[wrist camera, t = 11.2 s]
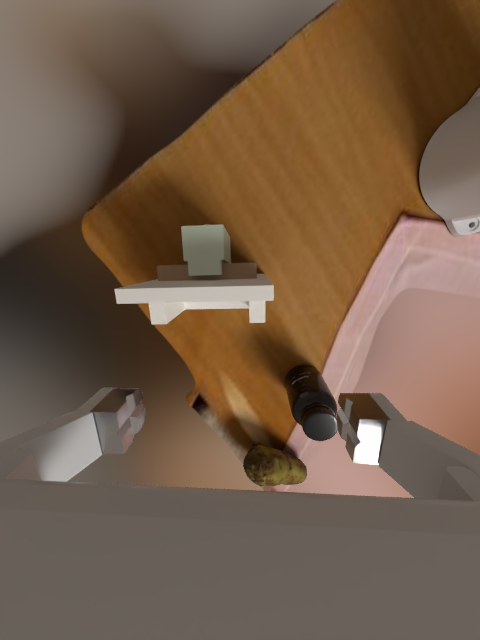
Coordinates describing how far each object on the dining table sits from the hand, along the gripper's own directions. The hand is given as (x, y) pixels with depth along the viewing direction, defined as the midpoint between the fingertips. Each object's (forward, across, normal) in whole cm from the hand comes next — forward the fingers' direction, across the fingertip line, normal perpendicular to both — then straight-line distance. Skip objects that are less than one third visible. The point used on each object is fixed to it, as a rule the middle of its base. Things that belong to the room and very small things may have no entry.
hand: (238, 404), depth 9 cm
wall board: (+30, +6, -2) cm, 31 cm away
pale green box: (+30, +6, -6) cm, 31 cm away
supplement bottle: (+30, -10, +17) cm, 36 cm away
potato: (+30, -5, +33) cm, 45 cm away
